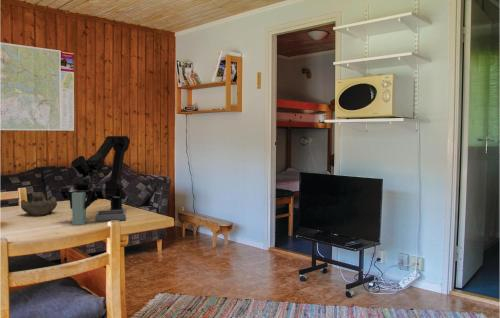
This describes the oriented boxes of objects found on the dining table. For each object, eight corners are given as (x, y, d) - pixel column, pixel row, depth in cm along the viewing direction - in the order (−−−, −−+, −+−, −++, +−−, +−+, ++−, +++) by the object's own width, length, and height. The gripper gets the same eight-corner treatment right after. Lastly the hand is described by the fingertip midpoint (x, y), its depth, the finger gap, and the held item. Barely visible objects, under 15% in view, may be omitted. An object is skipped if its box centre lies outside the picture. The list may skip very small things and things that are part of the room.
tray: (97, 216, 204) (97, 210, 204) (125, 215, 208) (125, 209, 208) (95, 222, 192) (95, 215, 191) (125, 220, 195) (125, 214, 195)
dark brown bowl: (19, 206, 199) (20, 190, 211) (22, 226, 204) (23, 209, 216) (56, 202, 206) (55, 187, 218) (58, 221, 210) (57, 205, 222)
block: (76, 222, 191) (75, 191, 190) (86, 222, 191) (85, 191, 190) (72, 224, 186) (71, 192, 185) (82, 224, 186) (82, 192, 185)
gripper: (60, 169, 191) (50, 197, 180) (102, 169, 191) (94, 197, 181) (68, 184, 199) (58, 212, 189) (108, 184, 199) (101, 212, 189)
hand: (78, 208), depth 187 cm, fingers open, 6 cm apart
